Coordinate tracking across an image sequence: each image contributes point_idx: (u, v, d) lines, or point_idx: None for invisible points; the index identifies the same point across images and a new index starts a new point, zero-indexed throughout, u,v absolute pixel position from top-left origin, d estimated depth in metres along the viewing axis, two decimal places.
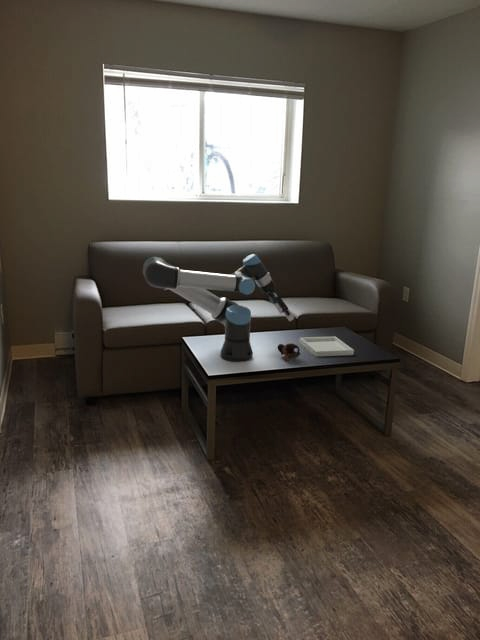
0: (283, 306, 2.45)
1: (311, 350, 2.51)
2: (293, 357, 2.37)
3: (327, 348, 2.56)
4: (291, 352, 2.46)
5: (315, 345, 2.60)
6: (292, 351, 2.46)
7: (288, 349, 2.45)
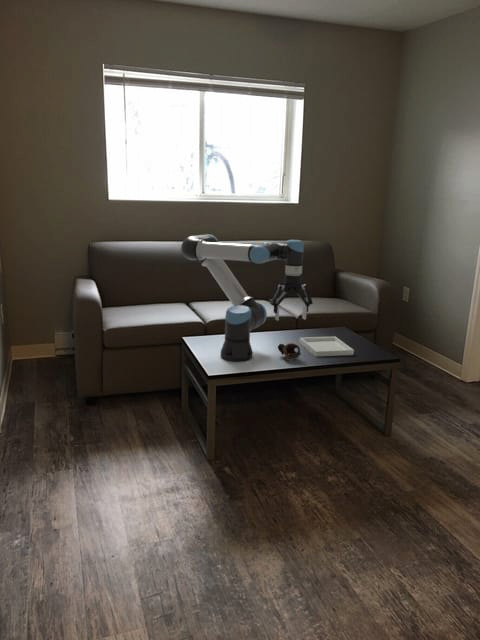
0: (272, 300, 2.34)
1: (311, 350, 2.51)
2: (293, 357, 2.38)
3: (327, 348, 2.56)
4: (291, 352, 2.46)
5: (315, 345, 2.60)
6: (292, 351, 2.46)
7: (288, 349, 2.45)
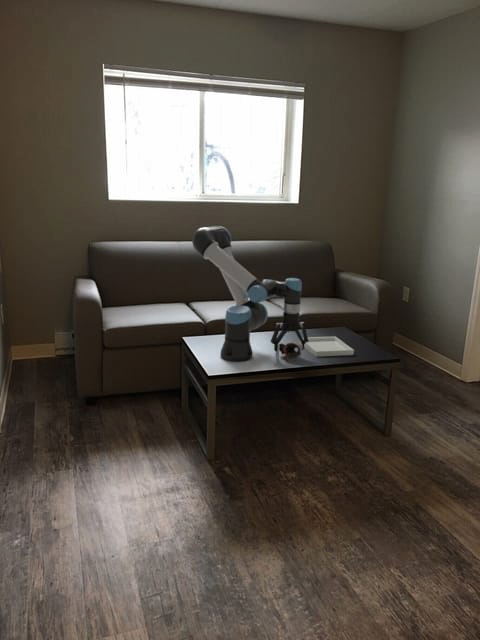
0: (272, 338, 2.38)
1: (311, 350, 2.51)
2: (293, 356, 2.38)
3: (327, 348, 2.56)
4: (292, 351, 2.47)
5: (315, 345, 2.60)
6: (293, 350, 2.46)
7: (289, 348, 2.46)
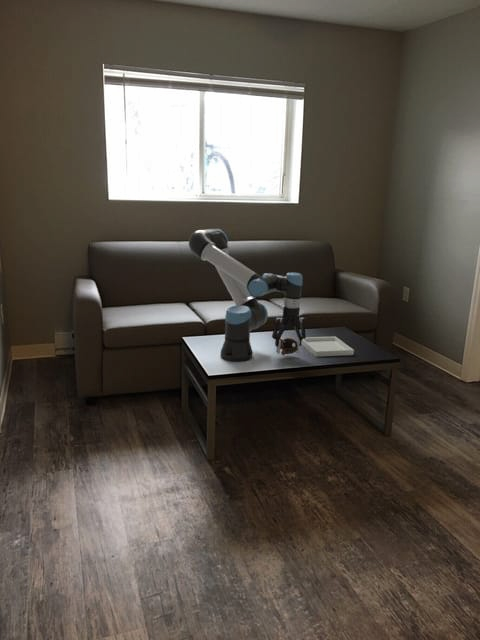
0: (273, 333, 2.38)
1: (311, 350, 2.51)
2: (290, 352, 2.37)
3: (327, 348, 2.56)
4: (289, 347, 2.46)
5: (315, 345, 2.60)
6: (290, 346, 2.46)
7: (286, 344, 2.45)
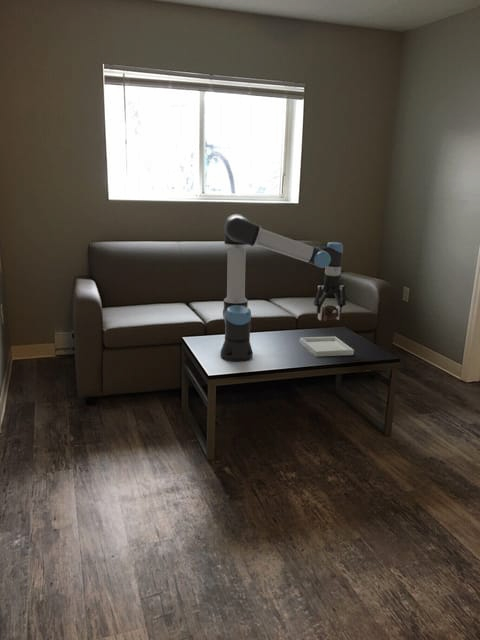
0: (315, 300, 2.51)
1: (311, 350, 2.51)
2: (332, 318, 2.50)
3: (327, 348, 2.56)
4: None
5: (315, 345, 2.60)
6: (330, 313, 2.58)
7: (327, 311, 2.58)
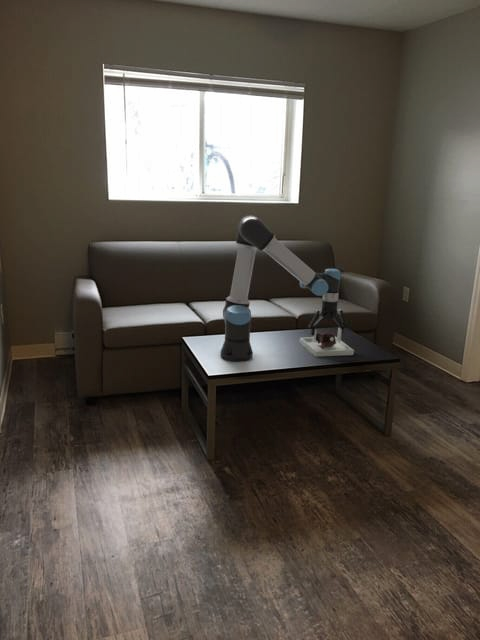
0: (310, 323, 2.54)
1: (311, 350, 2.51)
2: (329, 345, 2.54)
3: (327, 348, 2.56)
4: (327, 341, 2.62)
5: (315, 345, 2.60)
6: (328, 340, 2.62)
7: (324, 338, 2.62)
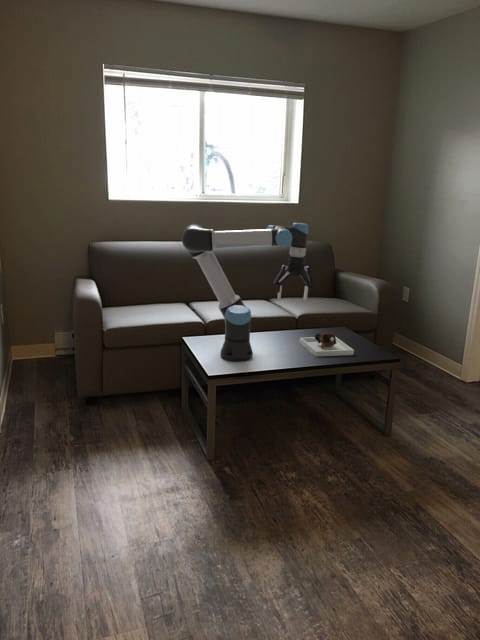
0: (275, 279, 2.45)
1: (311, 350, 2.51)
2: (329, 345, 2.54)
3: (327, 348, 2.56)
4: (327, 341, 2.63)
5: (315, 345, 2.60)
6: (328, 340, 2.62)
7: (325, 338, 2.62)
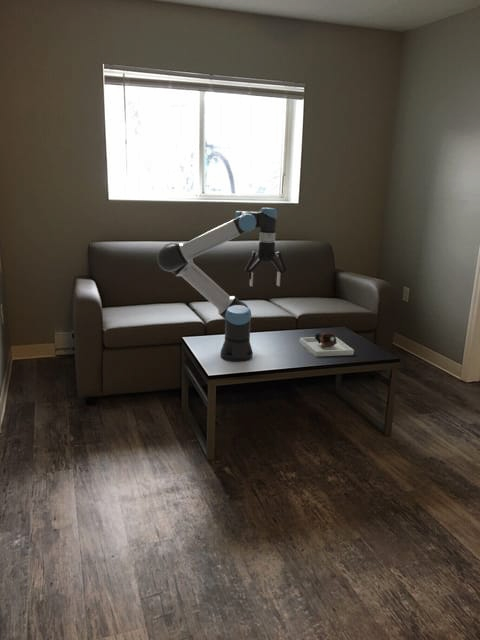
0: (246, 266, 2.42)
1: (311, 350, 2.51)
2: (330, 345, 2.54)
3: (327, 348, 2.56)
4: (328, 341, 2.63)
5: (315, 345, 2.60)
6: (329, 340, 2.62)
7: (325, 338, 2.62)
